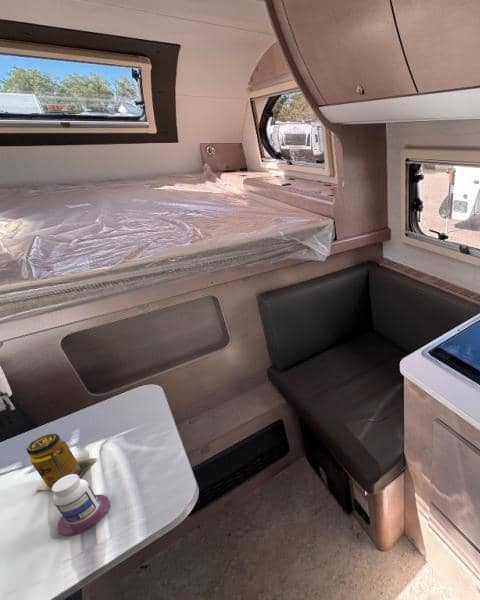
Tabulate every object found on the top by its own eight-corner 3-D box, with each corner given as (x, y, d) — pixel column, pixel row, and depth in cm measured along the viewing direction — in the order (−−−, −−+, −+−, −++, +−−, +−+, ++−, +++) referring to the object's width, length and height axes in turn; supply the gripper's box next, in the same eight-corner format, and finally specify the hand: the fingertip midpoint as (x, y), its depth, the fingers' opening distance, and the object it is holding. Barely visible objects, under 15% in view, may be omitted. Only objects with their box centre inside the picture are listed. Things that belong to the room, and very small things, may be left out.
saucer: (66, 544, 65) (65, 542, 65) (52, 521, 69) (50, 519, 69) (116, 509, 72) (115, 506, 72) (101, 490, 76) (99, 487, 75)
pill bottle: (73, 505, 72) (54, 476, 67) (103, 496, 74) (86, 467, 69) (62, 529, 67) (40, 499, 63) (94, 519, 69) (75, 489, 65)
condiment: (36, 490, 76) (10, 454, 70) (68, 459, 83) (47, 424, 78) (68, 489, 76) (45, 453, 71) (98, 458, 83) (79, 424, 78)
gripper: (-79, 337, 59) (-30, 409, 66) (-66, 371, 51) (-13, 450, 58) (-15, 322, 65) (23, 389, 72) (5, 350, 56) (46, 424, 63)
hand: (7, 416), depth 65 cm, fingers open, 9 cm apart
